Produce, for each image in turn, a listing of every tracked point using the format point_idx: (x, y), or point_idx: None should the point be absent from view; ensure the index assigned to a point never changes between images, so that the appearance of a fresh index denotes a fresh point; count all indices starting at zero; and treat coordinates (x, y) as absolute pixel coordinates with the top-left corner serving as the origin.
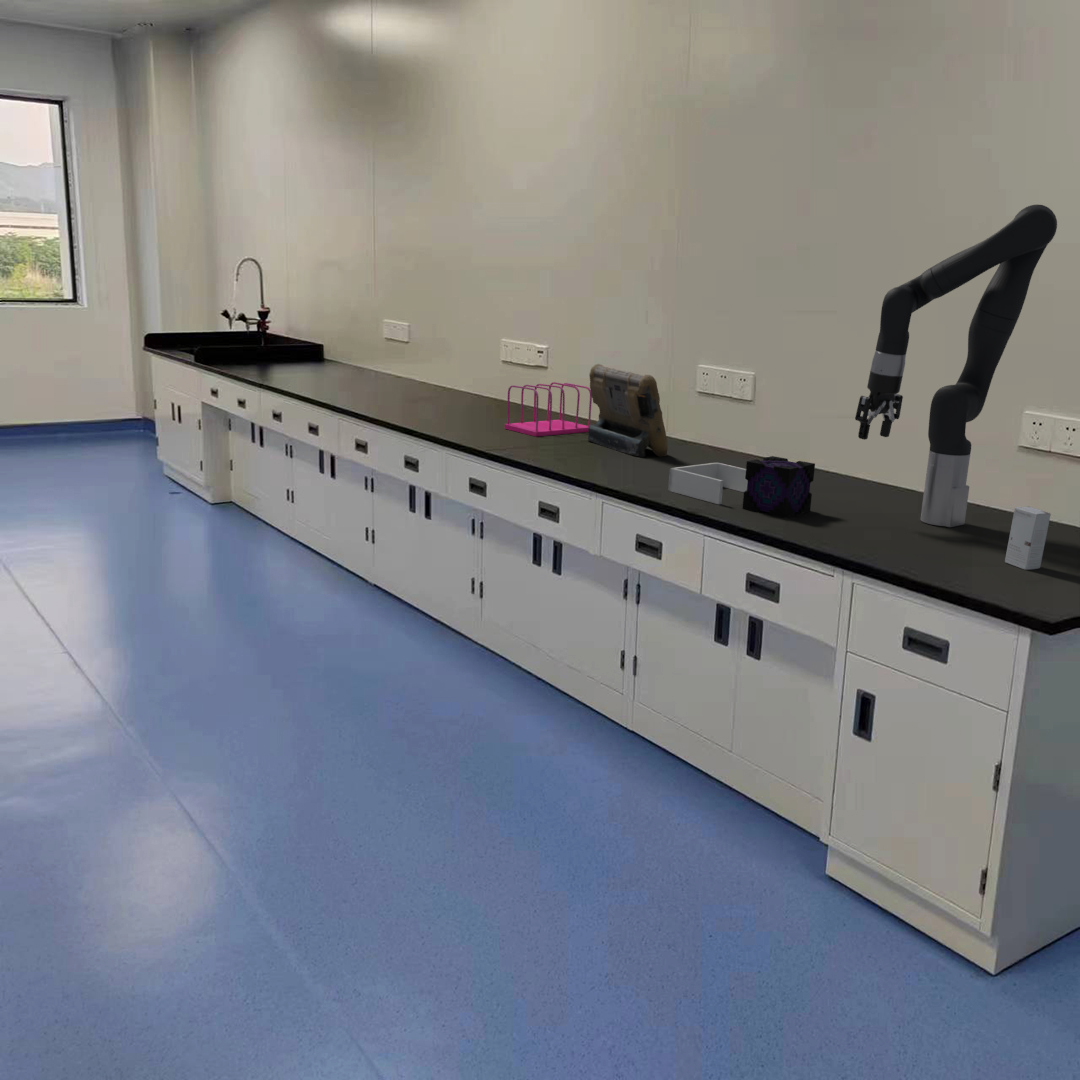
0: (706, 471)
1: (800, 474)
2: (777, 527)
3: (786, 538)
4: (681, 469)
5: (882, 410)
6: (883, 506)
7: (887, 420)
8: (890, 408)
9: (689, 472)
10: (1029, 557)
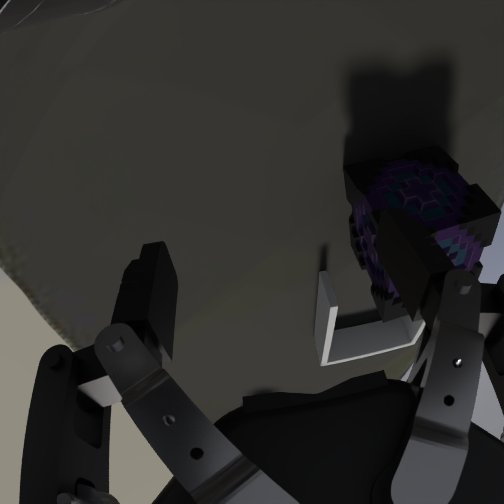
0: (347, 348)
1: (431, 219)
2: (499, 107)
3: None
4: (399, 343)
5: (334, 419)
6: (118, 147)
7: (153, 349)
8: (218, 451)
9: (422, 326)
10: None
